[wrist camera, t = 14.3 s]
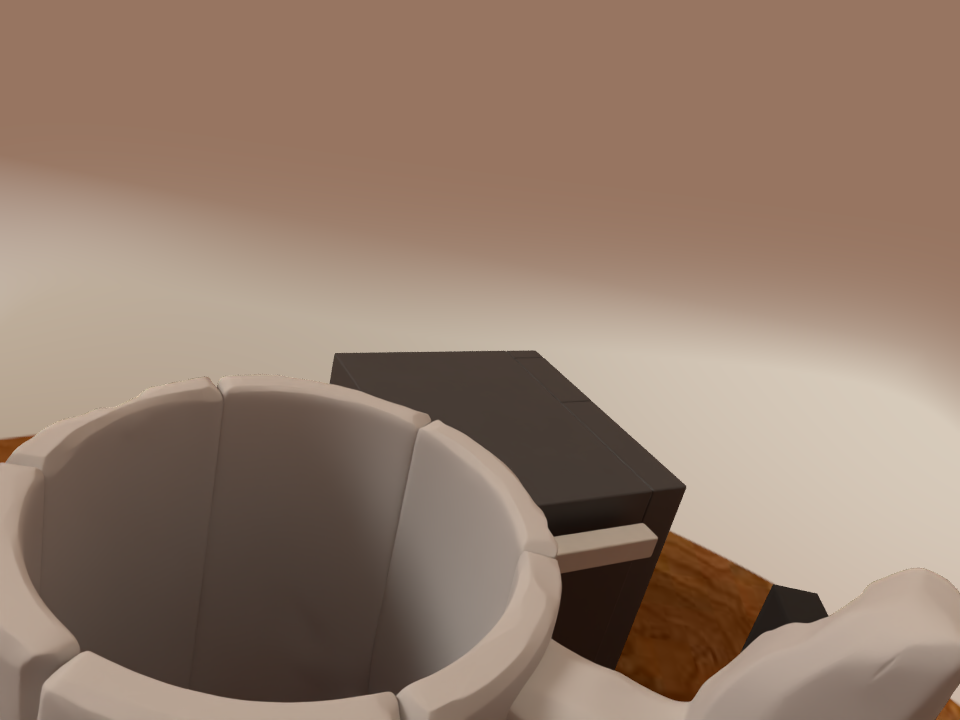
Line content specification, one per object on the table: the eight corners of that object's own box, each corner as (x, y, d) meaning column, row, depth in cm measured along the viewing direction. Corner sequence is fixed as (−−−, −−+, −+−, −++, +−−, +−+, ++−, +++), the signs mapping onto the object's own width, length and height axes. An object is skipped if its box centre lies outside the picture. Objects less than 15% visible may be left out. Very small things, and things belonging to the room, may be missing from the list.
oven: (623, 728, 30) (714, 509, 26) (401, 799, 26) (469, 547, 22) (483, 536, 39) (535, 349, 35) (299, 564, 34) (333, 352, 30)
